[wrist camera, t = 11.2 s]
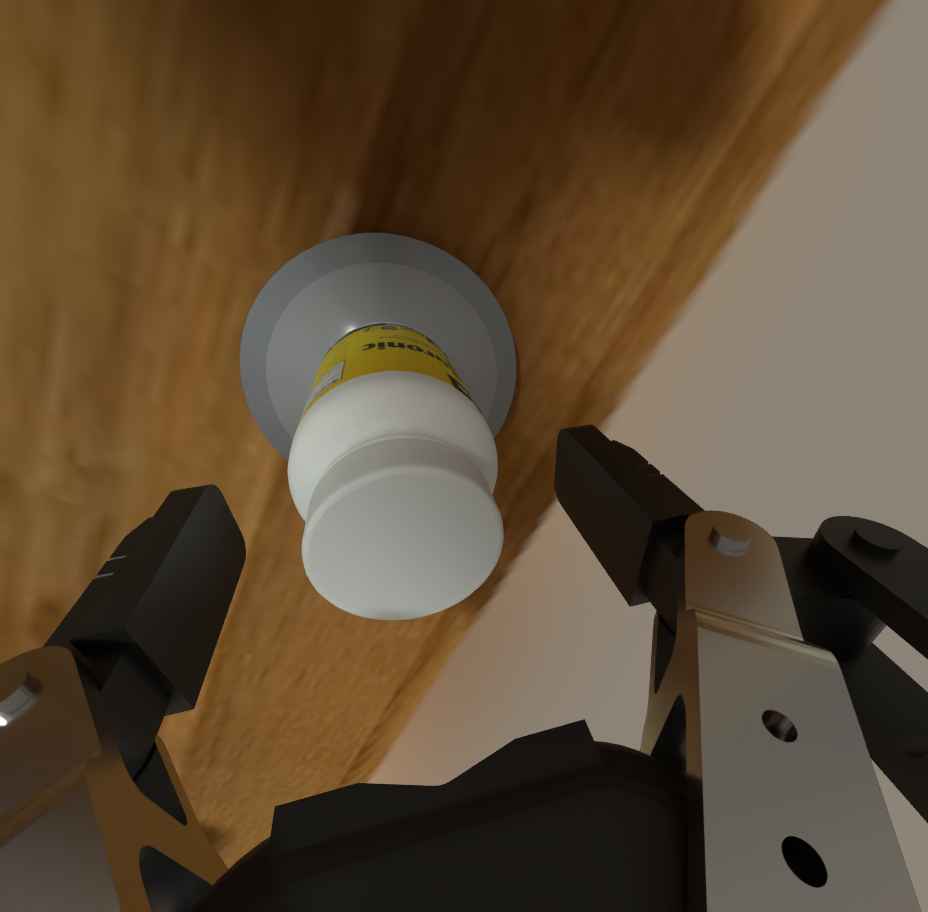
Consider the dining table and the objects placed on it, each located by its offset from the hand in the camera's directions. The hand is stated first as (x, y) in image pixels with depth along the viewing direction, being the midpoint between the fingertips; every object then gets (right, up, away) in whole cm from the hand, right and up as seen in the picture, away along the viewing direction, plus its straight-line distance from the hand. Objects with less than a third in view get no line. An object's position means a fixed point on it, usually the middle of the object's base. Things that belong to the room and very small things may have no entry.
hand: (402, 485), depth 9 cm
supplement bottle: (-2, +4, +7) cm, 8 cm away
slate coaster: (-2, +4, +7) cm, 9 cm away
